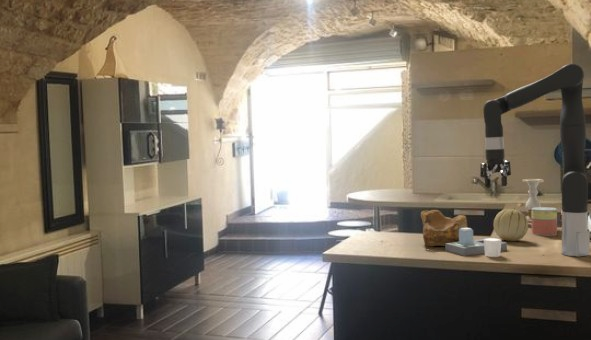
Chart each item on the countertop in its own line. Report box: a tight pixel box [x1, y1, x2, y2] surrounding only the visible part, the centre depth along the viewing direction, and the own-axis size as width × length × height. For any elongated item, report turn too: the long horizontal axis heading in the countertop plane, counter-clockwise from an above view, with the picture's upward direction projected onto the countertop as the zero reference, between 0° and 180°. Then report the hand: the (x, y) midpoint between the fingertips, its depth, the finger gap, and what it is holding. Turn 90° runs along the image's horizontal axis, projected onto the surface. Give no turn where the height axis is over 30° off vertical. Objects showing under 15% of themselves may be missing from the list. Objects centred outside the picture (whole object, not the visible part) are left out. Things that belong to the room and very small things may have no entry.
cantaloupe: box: [493, 207, 529, 242], centre depth 269 cm, size 15×15×15 cm
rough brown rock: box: [420, 209, 469, 248], centre depth 262 cm, size 23×17×15 cm
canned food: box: [531, 206, 558, 237], centre depth 285 cm, size 11×11×12 cm
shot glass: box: [482, 237, 502, 258], centre depth 238 cm, size 7×7×7 cm
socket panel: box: [444, 238, 508, 257], centre depth 249 cm, size 12×22×4 cm, turn 113°
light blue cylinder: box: [459, 227, 474, 246], centre depth 247 cm, size 4×4×10 cm
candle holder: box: [521, 178, 545, 229], centre depth 306 cm, size 11×11×24 cm
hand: (496, 186), depth 250 cm, fingers open, 8 cm apart
